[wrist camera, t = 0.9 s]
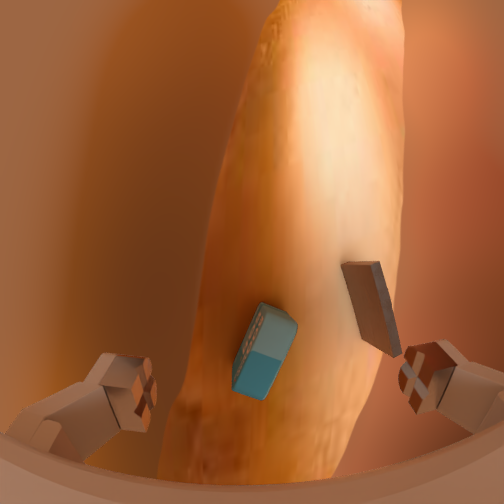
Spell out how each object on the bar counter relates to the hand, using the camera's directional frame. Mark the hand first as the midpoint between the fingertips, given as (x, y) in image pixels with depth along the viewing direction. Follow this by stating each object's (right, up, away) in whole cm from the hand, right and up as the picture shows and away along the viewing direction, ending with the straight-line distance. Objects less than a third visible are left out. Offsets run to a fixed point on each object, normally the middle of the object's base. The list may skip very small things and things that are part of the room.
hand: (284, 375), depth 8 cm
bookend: (+18, -4, +41) cm, 45 cm away
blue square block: (0, -11, +40) cm, 41 cm away
